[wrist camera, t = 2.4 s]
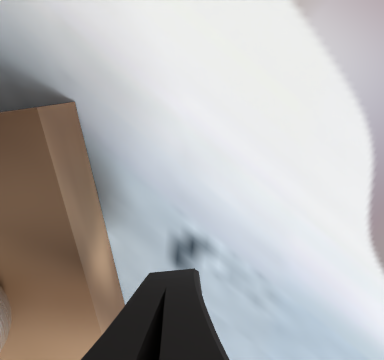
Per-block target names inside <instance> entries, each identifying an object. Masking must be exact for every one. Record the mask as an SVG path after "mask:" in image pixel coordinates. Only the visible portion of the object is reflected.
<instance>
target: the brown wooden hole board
mask: <svg viewBox="0 0 384 360" xmlns="http://www.w3.org/2000/svg"><path fill="white" fill-rule="evenodd" d="M0 287H1V288H2V289H3V290H4V292H5V293H6V295H7V297H8V300H9V303H10V306H11V326H10V331H9V334H8V337H7V340H6V342H5V344H4V346H3V348H2V350H1V351H0V360H81V359H82V357H83V356H84V355H85V354H86V353H87V352H88V351H89V349H90V348H91V347H92V346H93V345H94V344H95V342H96V341H97V340H98V339H99V338H100V337H101V335H102V334H103V333H104V332H105V330H106V329H107V328H108V327H109V325H110V324H111V323H112V322H113V320H114V319H115V318H116V317H117V315H118V314H119V313H120V311H121V310H122V309H123V308H124V306H125V304H124V300H123V296H122V292H121V288H120V284H119V280H118V275H117V271H116V267H115V263H114V259H113V255H112V251H111V247H110V243H109V239H108V235H107V231H106V227H105V223H104V219H103V215H102V211H101V207H100V203H99V199H98V195H97V190H96V186H95V182H94V178H93V174H92V170H91V166H90V162H89V158H88V154H87V150H86V146H85V142H84V138H83V134H82V130H81V126H80V122H79V118H78V114H77V109H76V105H75V102H69V103H62V104H55V105H48V106H40V107H33V108H26V109H19V110H12V111H5V112H0Z"/></svg>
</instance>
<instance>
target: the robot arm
mask: <svg viewBox="0 0 384 360" xmlns="http://www.w3.org/2000/svg"><path fill="white" fill-rule="evenodd" d="M81 360H229V358H228V356H227V354H226V352H225V350H224V348H223V346H222V344H221V342H220V340H219V337H218V335H217V333H216V331H215V329H214V326H213V324H212V321H211V319H210V316H209V314H208V311H207V309H206V306H205V303H204V300H203V296H202V291H201V284H200V277H199V272H198V271H197V270H195V269H185V270H175V271H164V272H154V273H149V275H148V276H147V277H146V278H145V279H144V281H143V282H142V283H141V285H140V286H139V288H138V289H137V290H136V292H135V293H134V294H133V296H132V297H131V298H130V300H129V301H128V302H127V304H126V305H125V306H124V308H123V309H122V310H121V311H120V313H119V314H118V315H117V317H116V318H115V319H114V320H113V322H112V323H111V324H110V325H109V327H108V328H107V329H106V330H105V332H104V333H103V334H102V335H101V337H100V338H99V339H98V340H97V341H96V342H95V344H94V345H93V346H92V347H91V348H90V349H89V351H88V352H87V353H86V354H85V355H84V356H83V357H82V359H81Z"/></svg>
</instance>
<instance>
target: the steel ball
mask: <svg viewBox="0 0 384 360" xmlns="http://www.w3.org/2000/svg"><path fill="white" fill-rule="evenodd" d="M10 326H11V306H10V303H9V300H8V297H7V295H6V293H5V292H4V290H3V289H2V288H1V287H0V351H1V350H2V348H3V346H4V344H5V342H6V340H7V337H8V334H9V331H10Z"/></svg>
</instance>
